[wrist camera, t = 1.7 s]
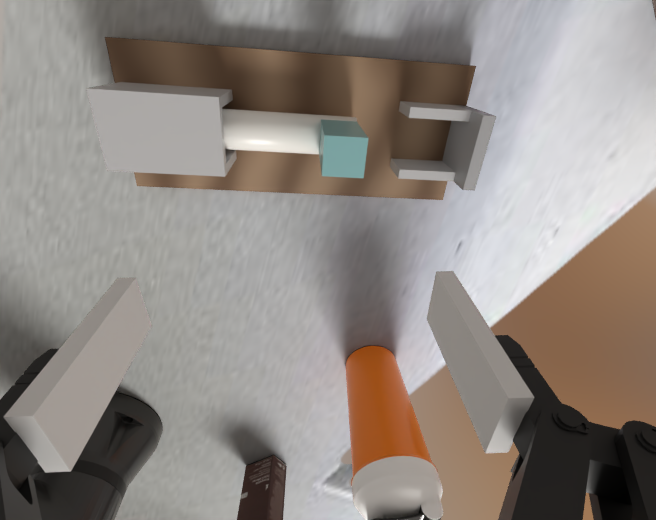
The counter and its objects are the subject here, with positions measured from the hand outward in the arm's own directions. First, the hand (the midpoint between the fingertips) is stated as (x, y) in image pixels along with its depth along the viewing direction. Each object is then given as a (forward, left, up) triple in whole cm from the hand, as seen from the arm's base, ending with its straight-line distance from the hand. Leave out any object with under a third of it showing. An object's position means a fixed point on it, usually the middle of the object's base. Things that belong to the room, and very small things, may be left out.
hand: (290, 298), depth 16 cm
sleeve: (-10, +3, -21) cm, 23 cm away
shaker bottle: (+11, -28, -22) cm, 37 cm away
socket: (+12, +3, -21) cm, 24 cm away
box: (-4, -53, -22) cm, 57 cm away
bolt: (-5, +3, -20) cm, 21 cm away
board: (0, +3, -22) cm, 22 cm away
